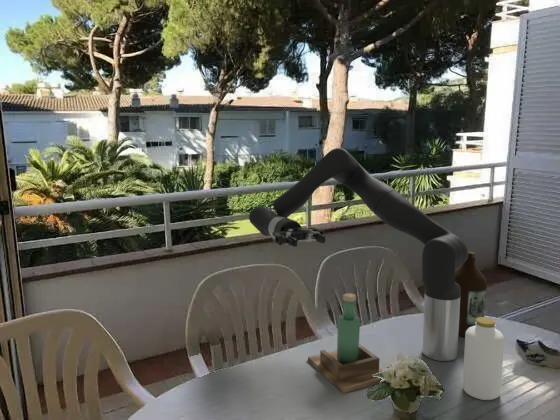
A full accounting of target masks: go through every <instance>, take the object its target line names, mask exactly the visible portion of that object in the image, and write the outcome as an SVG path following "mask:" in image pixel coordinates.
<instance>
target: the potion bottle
mask: <svg viewBox="0 0 560 420" xmlns="http://www.w3.org/2000/svg"><path fill="white" fill-rule="evenodd" d="M475 325H476V326H472V327H469V328H468V329H467V330H466V333H465V337H464V350H463V351H464V353H463V354H464V355H463V369H462V371H463V372H462V389H463V390H464V392H465V393H466V394H467V395H469V396H470V397H472V398H474V399H477V400H480V401H481V400H483V401H492V400H495V399H497V398H499V396H500V395H501V391H502V377H503V376H502V375H503V362H504V350H505V349H504V348H505V337H504V335H503V333H502V332H501V331H500V330H499V329H497V328H496V320H494V319H493V318H489V317H486V316H484V317H479V318H477V319H476V322H475Z"/></svg>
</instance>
